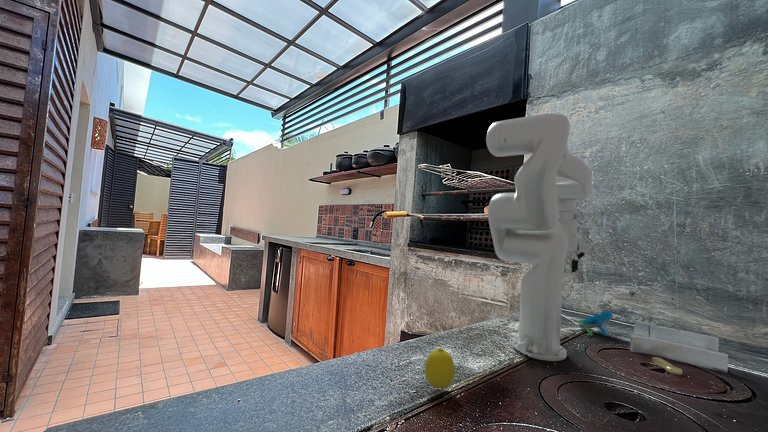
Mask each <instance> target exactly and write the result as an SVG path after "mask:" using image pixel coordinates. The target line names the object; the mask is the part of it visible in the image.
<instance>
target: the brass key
mask: <svg viewBox="0 0 768 432" xmlns="http://www.w3.org/2000/svg"><path fill="white" fill-rule="evenodd" d="M651 362H652V363H654V364H656V365H658V366H659V367H661V368H663V369H664V370H665V371H666V372H667V373H670V374H672V375H676V376H683V369H682V368H681V367H679V366H675V365H673V364H671V363H670V362H669V361H667V360H664V359H663V358H662V357H659V356H656V357H654V356H651Z"/></svg>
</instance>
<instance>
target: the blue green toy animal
mask: <svg viewBox="0 0 768 432" xmlns="http://www.w3.org/2000/svg"><path fill="white" fill-rule="evenodd" d="M612 317H614V314H613V312H612V311H609V310H608V311H605V310H604V311H601V312H600V313H598V312H596V313H593V314H592V316H591V315H590V316H589V315H588V316H587V317H585V319H579V320H578V321H577V322H578V326H579V327H580V328H581V329H583V330H586V332H587V333H588V334H589V336H594V335H593V333H592V331H591V330H590V329H593V328H599V330H600V331H601V333H602V334H603V336H604V337H607V336H609V334H608V333H607V331H606V330H605V328H604V327H603V324H605V323H606V322H607V321H610V320H611V319H612Z"/></svg>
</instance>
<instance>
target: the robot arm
mask: <svg viewBox="0 0 768 432" xmlns="http://www.w3.org/2000/svg"><path fill="white" fill-rule="evenodd" d="M570 128H571V125H570V120H569V118H568V117H567V116H566V115H564V114H561V113H556V112H555V113H552V112H551V113H542V114H541V113H540V114H535V115H528V116H523V117H516V118H511V119H504V120H500V121H499V120H498V121H495V122H493V123H492V124H491V125H490V126H489V127H488V130H487V133H486V137H485V142H486V147H487V149H488V151H489V152H490V154H491V155H492V156H494V157H497V158H499V157H511V156H512V157H513V156H521V155H530V156H529V157H528V158H527V160H526V161H524V162H523V163H522V165H521V166H520V167H519V169H518V170H517V171H516V174H515V175H514V179H513V180H514V188H515V192H502V193H497V194H495V195H493V196H492V198H491V199H490V201H489V203H488V208H487V218H488V219H487V220H488V224H489V230H490V234H491V238H492V243H493V247H494V248H493V249H494V253H495V254H496V256H497V257H498V258H499V259H500V260H501V261H504V262H505V261H506V262H511V263H521V264H527V265H531V266H532V267H531V268H530V269H529V270H528V271H527V272H525V273H524V274H523V276H522V277H521V280H520V295H519V296H520V297H519V298H520V300H519V318H518V319H519V320H518V321H519V322H518V325H519V326H518V337H515V338H513V339H512V340H511V347H512V348H513V347H514V348H515V349H516V350H518V351H520V352H522V353H525V354H527V355H528V356H527V357H528V358H532V359H536V360H540V361H546V362H559V361H563V360H565V359H566V358H567V356H568V354H567V353H568V352H567V350H566V349H565V348H564V347H562V346H561V330H562V328H561V323H562V322H561V320H562V304H563V303H562V301H563V300H562V299H563V297H562V296H563V280H564V279H563V277H564V276H563V275H564V268H565V265H566V259H567V253H570V254H571V256H572V260H571V270H570V271H571V273H573V274H574V273H576V272H577V271H579V260H581V259H582V258H583V257H584V256H586V254H588V253H589V251H590V250H591V248H590V247H589V246H588V245H586V244H585V243H584V242H583V241H581V240H580V239H581V236H580V235H581V234H580V227H579V226H580V225H579V222H578V221H576V220H578V219H581V214H578V213H576V207H577V205H576V204H577V201H586V200H587V199H589V198H590V196H591V195H592V192H593V182H592V181H593V179H592V173H591V169H590V168H589V165H587V163H586V162H584V161H583V160H581V159H580V158H579V157H577V156H575V155H573V154H572V153H570V152H569V146H568V141H569V137H570ZM580 248H581V249H582V250H581V251H580ZM578 251H580V253H578ZM514 348H513V349H514ZM515 349H514V350H515ZM516 350H515V351H516ZM518 351H517V352H518ZM520 352H519V353H520Z"/></svg>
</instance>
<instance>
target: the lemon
mask: <svg viewBox="0 0 768 432" xmlns="http://www.w3.org/2000/svg"><path fill="white" fill-rule="evenodd" d="M424 366H425V367H424V370H425V371H424V372H425V377H426V380H427V382H428V383H429V384H430V385H431V387H433V388H435V387H436V388H441V389H442V390H443V389H444V388H445V389H447V388H448V387H450V385H452V383H453V381H454V378H455V374H456V371H455V370H456V369H455V363H454V359H453V357H452V356H451V354H450V353H449V352H447V351H446V350H445V349H444V348H441V347H438V348H437V349H434V350H432V351H430V353H429V354H428V355H427V358H426V361H425V365H424ZM436 388H435V389H436Z"/></svg>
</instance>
